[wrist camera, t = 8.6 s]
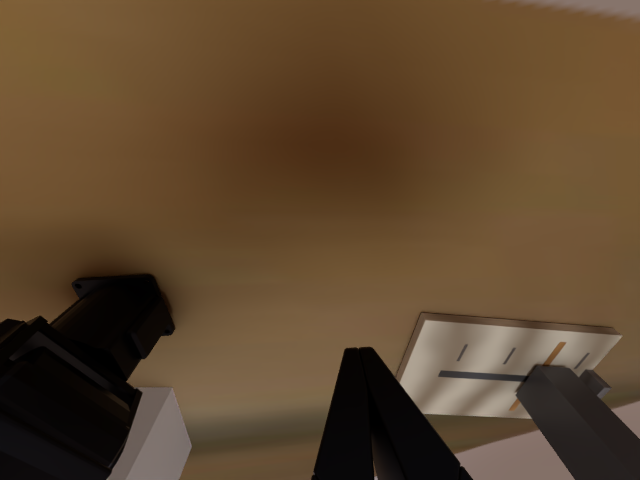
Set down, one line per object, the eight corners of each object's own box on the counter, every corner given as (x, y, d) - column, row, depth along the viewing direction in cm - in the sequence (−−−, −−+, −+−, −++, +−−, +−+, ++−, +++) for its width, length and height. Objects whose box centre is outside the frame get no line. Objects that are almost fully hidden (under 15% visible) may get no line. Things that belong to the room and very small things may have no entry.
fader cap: (515, 395, 29) (608, 526, 20) (537, 365, 27) (652, 498, 18) (545, 396, 29) (650, 526, 20) (569, 367, 27) (698, 498, 18)
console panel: (385, 403, 31) (392, 431, 28) (421, 312, 25) (434, 337, 22) (541, 410, 33) (562, 437, 30) (612, 327, 26) (646, 352, 24)
